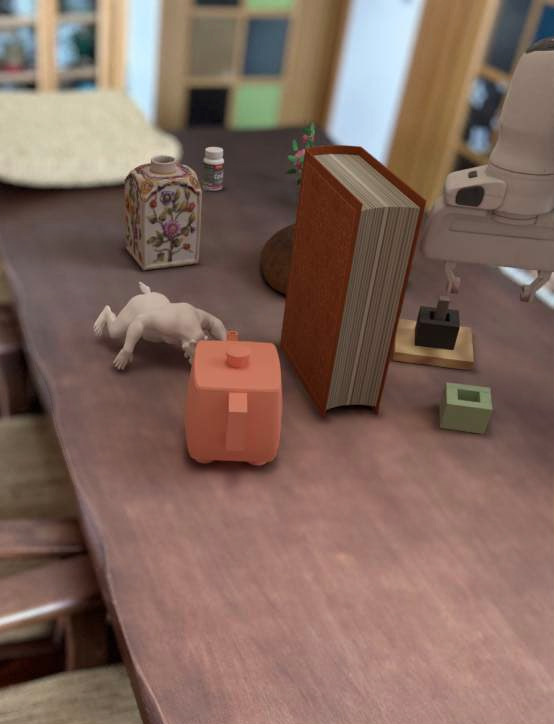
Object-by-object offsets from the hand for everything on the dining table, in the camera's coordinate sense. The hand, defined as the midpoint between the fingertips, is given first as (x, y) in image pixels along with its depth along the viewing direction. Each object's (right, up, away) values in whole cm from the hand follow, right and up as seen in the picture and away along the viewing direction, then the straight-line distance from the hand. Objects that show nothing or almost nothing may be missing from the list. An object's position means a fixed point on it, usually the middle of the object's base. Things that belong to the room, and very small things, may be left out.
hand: (488, 296), depth 109 cm
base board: (+1, -1, +24) cm, 24 cm away
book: (-18, -8, +17) cm, 26 cm away
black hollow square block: (+1, 0, +23) cm, 23 cm away
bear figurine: (-43, -2, +23) cm, 49 cm away
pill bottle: (-30, +49, +81) cm, 100 cm away
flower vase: (-7, +43, +74) cm, 86 cm away
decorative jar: (-43, +23, +51) cm, 70 cm away
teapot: (-34, -19, +3) cm, 39 cm away
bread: (-11, +17, +45) cm, 49 cm away
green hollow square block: (-1, -15, +8) cm, 17 cm away
